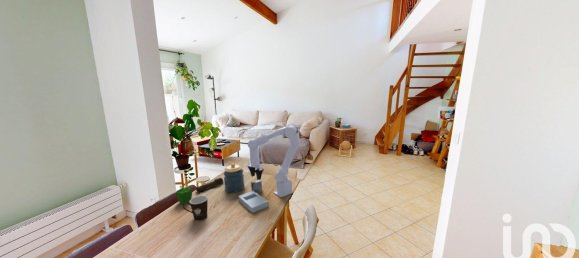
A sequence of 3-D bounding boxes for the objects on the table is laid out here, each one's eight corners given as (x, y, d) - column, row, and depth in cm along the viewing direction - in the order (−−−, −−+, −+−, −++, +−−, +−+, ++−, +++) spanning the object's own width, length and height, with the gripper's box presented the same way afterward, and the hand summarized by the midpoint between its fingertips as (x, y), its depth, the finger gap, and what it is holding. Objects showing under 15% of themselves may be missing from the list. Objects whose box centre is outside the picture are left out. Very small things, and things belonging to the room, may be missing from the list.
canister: (248, 186, 144) (246, 162, 141) (234, 194, 134) (232, 168, 130) (235, 182, 151) (233, 159, 148) (220, 190, 140) (218, 164, 137)
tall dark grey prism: (259, 189, 140) (259, 179, 139) (262, 191, 138) (261, 180, 136) (251, 192, 136) (251, 182, 135) (253, 193, 134) (253, 183, 133)
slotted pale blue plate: (253, 195, 132) (253, 190, 132) (268, 206, 119) (268, 201, 118) (238, 200, 126) (238, 196, 126) (252, 213, 113) (252, 207, 112)
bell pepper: (195, 201, 127) (193, 186, 125) (180, 207, 121) (178, 191, 119) (190, 197, 133) (188, 182, 131) (175, 202, 127) (173, 186, 125)
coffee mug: (213, 213, 113) (211, 196, 112) (201, 223, 105) (199, 205, 104) (195, 210, 117) (193, 193, 115) (183, 219, 109) (180, 201, 107)
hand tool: (198, 193, 137) (197, 187, 136) (195, 191, 140) (195, 185, 139) (225, 184, 150) (224, 178, 149) (222, 182, 153) (222, 176, 152)
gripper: (243, 156, 136) (245, 176, 138) (254, 161, 125) (256, 183, 127) (253, 154, 140) (254, 173, 143) (264, 159, 129) (266, 180, 131)
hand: (256, 177), depth 135 cm, fingers open, 7 cm apart
